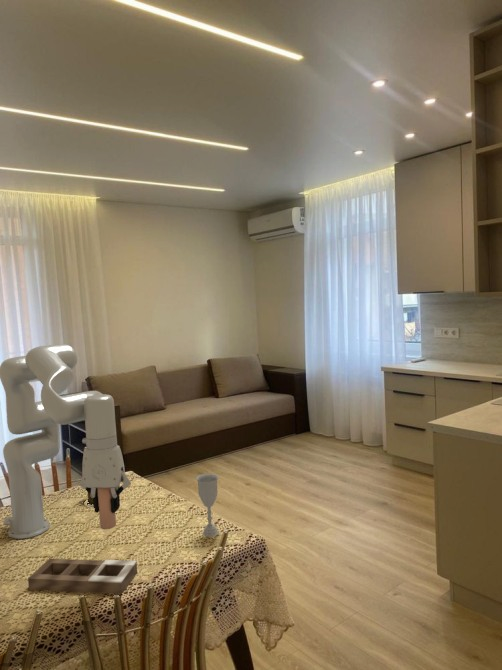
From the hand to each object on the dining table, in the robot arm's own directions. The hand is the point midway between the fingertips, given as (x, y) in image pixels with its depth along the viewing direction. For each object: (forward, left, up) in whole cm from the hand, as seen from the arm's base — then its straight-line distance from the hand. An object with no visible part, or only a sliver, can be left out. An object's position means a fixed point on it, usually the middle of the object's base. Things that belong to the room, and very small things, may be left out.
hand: (107, 510), depth 130 cm
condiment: (-31, +51, -20) cm, 63 cm away
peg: (0, 0, -4) cm, 4 cm away
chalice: (+20, +29, -20) cm, 40 cm away
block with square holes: (-8, 0, -20) cm, 21 cm away
